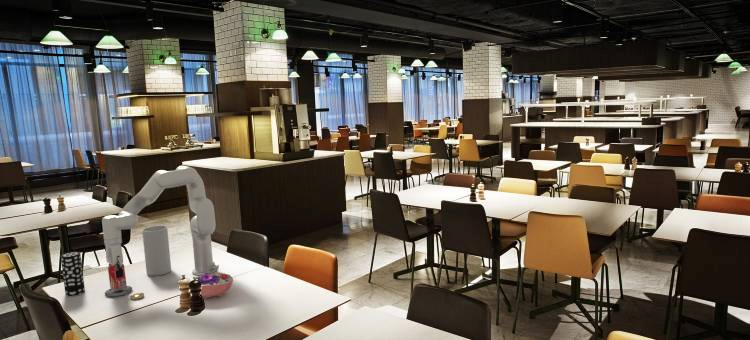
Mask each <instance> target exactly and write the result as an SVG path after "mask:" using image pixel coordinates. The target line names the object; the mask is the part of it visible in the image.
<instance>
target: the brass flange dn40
mask: <svg viewBox="0 0 750 340" xmlns="http://www.w3.org/2000/svg"><path fill="white" fill-rule="evenodd" d="M129 298H130V300H131V301H138V300H141V299H143V298H145V293H143V292H137V293H133V294H131V295H130V296H129Z"/></svg>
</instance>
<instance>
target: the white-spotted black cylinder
mask: <svg viewBox="0 0 750 340" xmlns="http://www.w3.org/2000/svg"><path fill="white" fill-rule="evenodd" d="M60 263H61V271H62V279H63V286H64V293H65V294H64V295H65V296H66V297H76V296H79V295H82V294H84V293H86V289H85V280H84V279H85V278H84V271H83V264H82V257H81V252H80V251H73V252H72V251H70V252H66V253H63V254H61V255H60Z"/></svg>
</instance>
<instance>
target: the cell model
mask: <svg viewBox="0 0 750 340" xmlns="http://www.w3.org/2000/svg"><path fill="white" fill-rule="evenodd" d="M195 278H196V279H198V280H199V281H201V283H202V289H201V295H202V296H203V297H202V298H213V297H222V296H224V295H225V294H227V293H228V292H229V291H230V289H231V287H232V285H233V281H234V277H232V276H231V274H228V273H223V272H219V273H218V272H217V273H210V274H208V273H203V274H202V275H197V276H196V277H195Z"/></svg>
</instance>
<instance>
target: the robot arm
mask: <svg viewBox="0 0 750 340" xmlns="http://www.w3.org/2000/svg"><path fill="white" fill-rule="evenodd" d="M181 186H186V188H187V193H188V203H189V204H188V205H189V209H190V210H191V211H192V212H193V213H194V214H195V216H193V217H192V218H191V220H190V221H189V229H190V233H191V238H192V248H193V261H194V268H193V269H192V270H191V271H192V273H191V274H193V275H195V276H201V275H202V274H203V273H208V274H214V273H215V272H216V271H218V270H219V268H220V265H219V264H216V262H215V261H214V260H213V247H212V246H213V245H212V237H211V235H213V234H214V232H215V230H216V224H217V223H216V215H215V214H216V213H215V206H214V204H213V202H212V201H211V199H209V198H207V196H206V189H205V184H204V181H203V179H202V177H201V175H200V174H199V172H198V171H197V170H196V168H193V167H192V166H191V167H190V166H188V165H179V166H178V167H176V169H175V170H168V171H167V170H164V169H160V170H157V171H155V173H153V174H152V176H151V177H150V178H149V179H148V181H147V182H146V183H145V184H144V186H143V187H142V188H141V190H140V191H139V192H138V193H136V194H135V196H133V197H132V198H131V199H130V200H129V201H128V202H127V203H126V204H125V205H124V207H123V208H122V209H121V210H120V212H119V213H118V215H115V214H114V215H113V214H110V215H105V216H104V217H102V218H101V224H102V233H103V242H104V246H105V259H106V260H105V261H106V263H108V265H109V264H111V265H115V267H116V278H120V277H123V276H124V274H123V264H124V255H123V250H122V248H123V247H122V243H123V239H122V237H123V236H122V230H131V229H134V228H135V227H138V226H137V225H138V224H139V218H138V217H137V215H138V214H139V213H140V212H141V211H142V210H143V209H144V208H145V207H147V206H150V205H151V204H153V203H154V202H156V200H157V199H158V198H159V196H160V195H161V194H162V193H163V192H164V190H165V189H171V188H176V187H177V188H178V187H181ZM118 262H119V263H118ZM116 263H118V264H116ZM117 265H119V266H118V267H117Z"/></svg>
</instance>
